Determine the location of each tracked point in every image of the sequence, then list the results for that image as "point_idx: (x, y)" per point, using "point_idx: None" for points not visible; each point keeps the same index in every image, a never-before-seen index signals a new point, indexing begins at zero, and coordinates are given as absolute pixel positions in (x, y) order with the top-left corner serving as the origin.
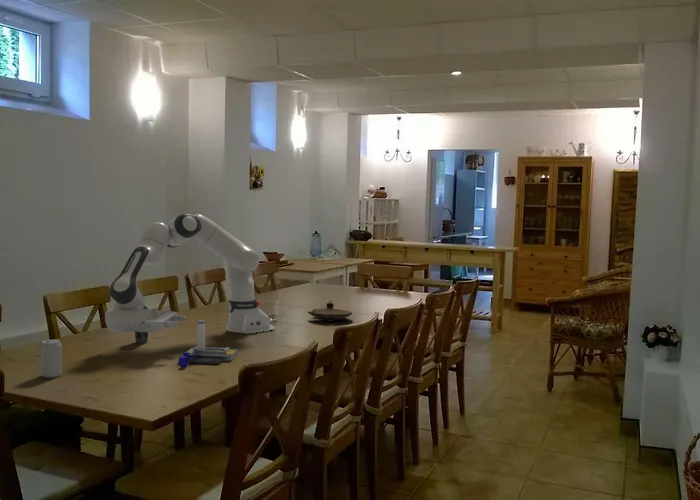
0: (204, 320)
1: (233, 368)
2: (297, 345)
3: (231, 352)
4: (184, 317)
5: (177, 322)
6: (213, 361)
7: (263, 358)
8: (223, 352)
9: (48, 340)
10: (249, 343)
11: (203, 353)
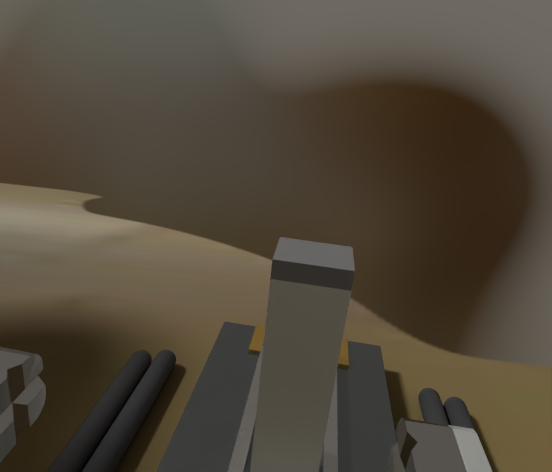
0: (289, 240)
1: (484, 363)
2: (120, 226)
3: None
4: (37, 358)
5: (472, 434)
6: (469, 417)
7: None
8: None
9: None
10: (6, 302)
11: (343, 461)
